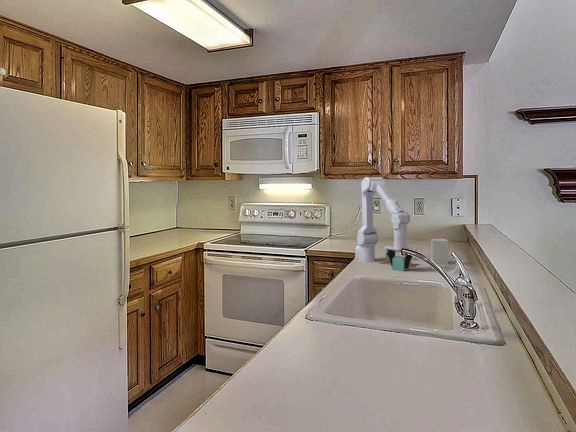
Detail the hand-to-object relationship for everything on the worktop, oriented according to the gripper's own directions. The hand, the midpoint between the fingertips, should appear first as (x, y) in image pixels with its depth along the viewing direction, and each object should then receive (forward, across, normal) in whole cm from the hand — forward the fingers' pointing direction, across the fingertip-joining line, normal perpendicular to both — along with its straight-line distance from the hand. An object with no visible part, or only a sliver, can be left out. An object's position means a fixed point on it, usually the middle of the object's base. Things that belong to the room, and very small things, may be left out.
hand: (399, 267), depth 182 cm
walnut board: (+2, -5, +12) cm, 13 cm away
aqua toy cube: (+2, 0, 0) cm, 2 cm away
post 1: (+1, -10, +12) cm, 16 cm away
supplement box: (+2, +11, +25) cm, 27 cm away
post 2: (+1, 0, +12) cm, 12 cm away
